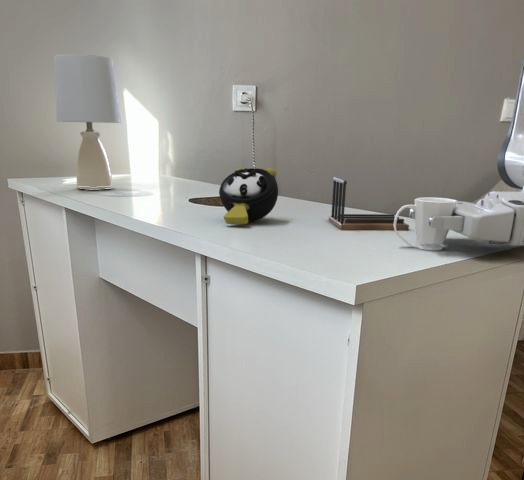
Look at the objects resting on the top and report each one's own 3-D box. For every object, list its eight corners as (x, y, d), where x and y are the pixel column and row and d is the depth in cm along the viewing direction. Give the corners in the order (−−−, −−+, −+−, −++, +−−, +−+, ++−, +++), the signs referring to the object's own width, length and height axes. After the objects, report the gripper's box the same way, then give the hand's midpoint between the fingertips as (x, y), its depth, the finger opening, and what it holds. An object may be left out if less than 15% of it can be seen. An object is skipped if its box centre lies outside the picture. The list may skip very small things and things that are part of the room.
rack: (390, 220, 124) (395, 177, 120) (408, 230, 112) (414, 182, 109) (328, 220, 122) (331, 176, 119) (340, 229, 111) (344, 181, 108)
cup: (455, 252, 92) (462, 202, 89) (394, 250, 93) (399, 200, 90) (446, 244, 98) (452, 197, 95) (389, 242, 99) (393, 196, 96)
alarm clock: (210, 239, 120) (200, 171, 120) (270, 236, 126) (260, 172, 126) (231, 222, 109) (219, 148, 109) (295, 220, 115) (284, 150, 116)
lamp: (128, 186, 185) (119, 62, 171) (122, 192, 168) (112, 55, 154) (70, 186, 183) (57, 60, 169) (58, 192, 166) (42, 52, 152)
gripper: (474, 192, 103) (402, 191, 102) (534, 206, 84) (446, 206, 83) (469, 227, 106) (398, 226, 104) (526, 248, 87) (440, 248, 85)
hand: (420, 217), depth 93 cm, fingers open, 8 cm apart
